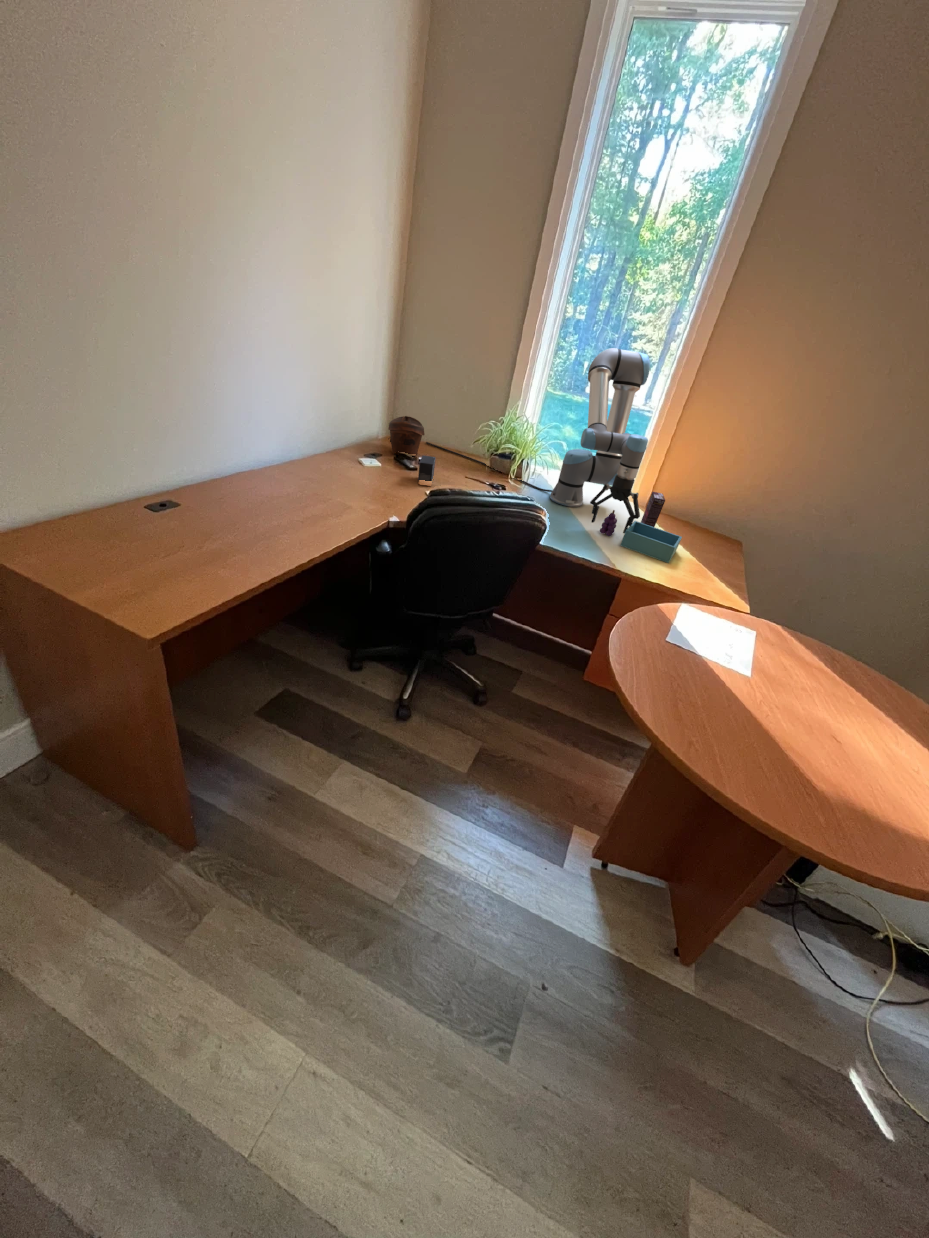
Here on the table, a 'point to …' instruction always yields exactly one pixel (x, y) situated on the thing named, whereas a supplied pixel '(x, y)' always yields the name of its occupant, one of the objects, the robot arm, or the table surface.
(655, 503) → the supplement box
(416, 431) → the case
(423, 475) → the small box
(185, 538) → the table surface
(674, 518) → the table surface
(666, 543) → the bin
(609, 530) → the grapes
